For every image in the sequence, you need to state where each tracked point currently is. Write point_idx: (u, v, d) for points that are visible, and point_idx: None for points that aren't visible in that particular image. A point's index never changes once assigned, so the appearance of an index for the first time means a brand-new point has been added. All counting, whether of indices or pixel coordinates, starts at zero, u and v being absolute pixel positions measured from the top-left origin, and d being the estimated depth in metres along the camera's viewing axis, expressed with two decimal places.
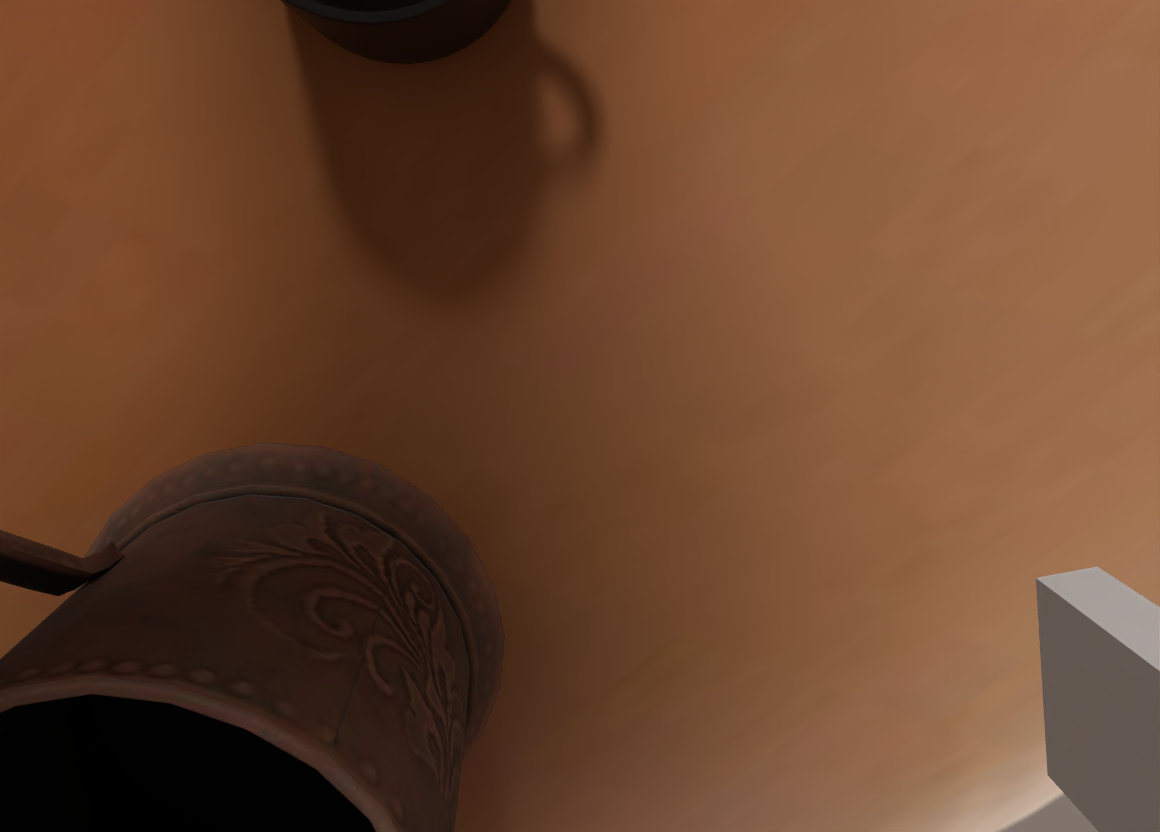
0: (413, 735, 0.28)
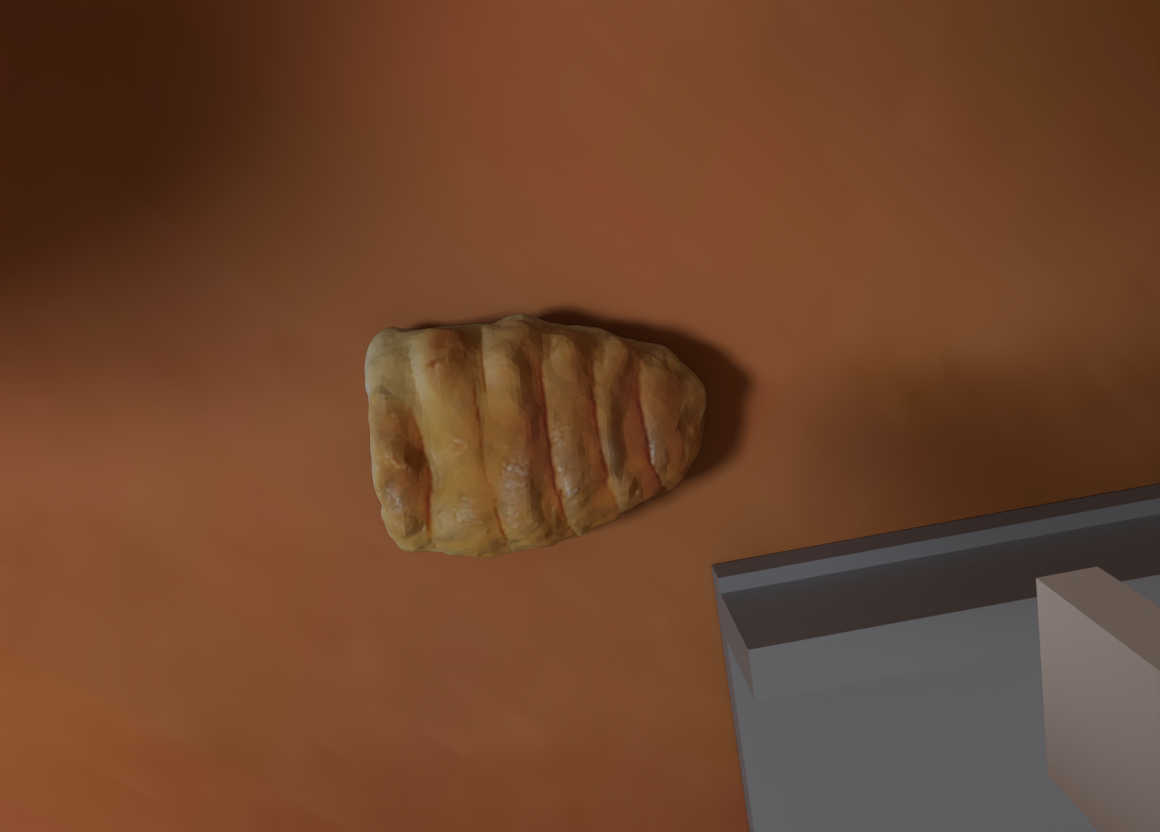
0: None
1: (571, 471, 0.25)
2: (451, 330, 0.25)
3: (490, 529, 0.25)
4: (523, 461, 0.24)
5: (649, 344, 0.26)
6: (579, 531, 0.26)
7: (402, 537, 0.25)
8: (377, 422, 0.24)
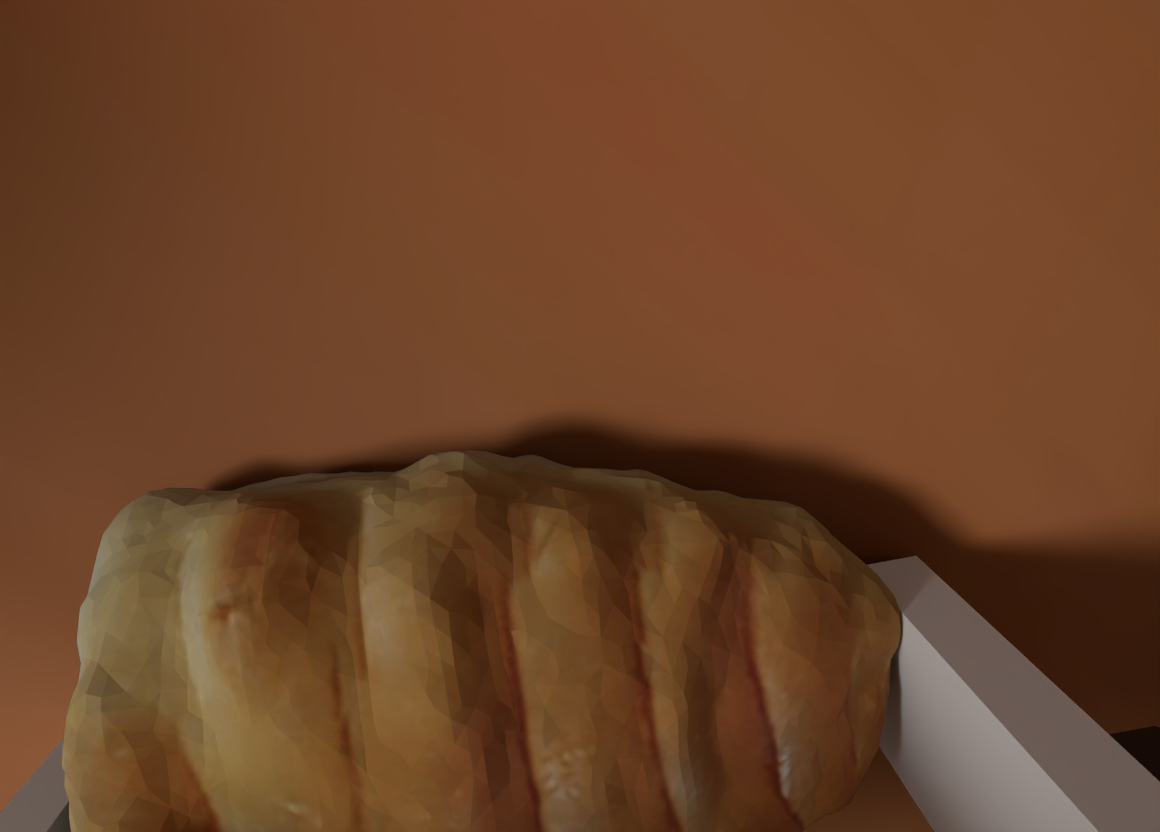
0: None
1: None
2: (281, 511, 0.10)
3: None
4: None
5: (764, 506, 0.11)
6: None
7: None
8: (82, 772, 0.09)
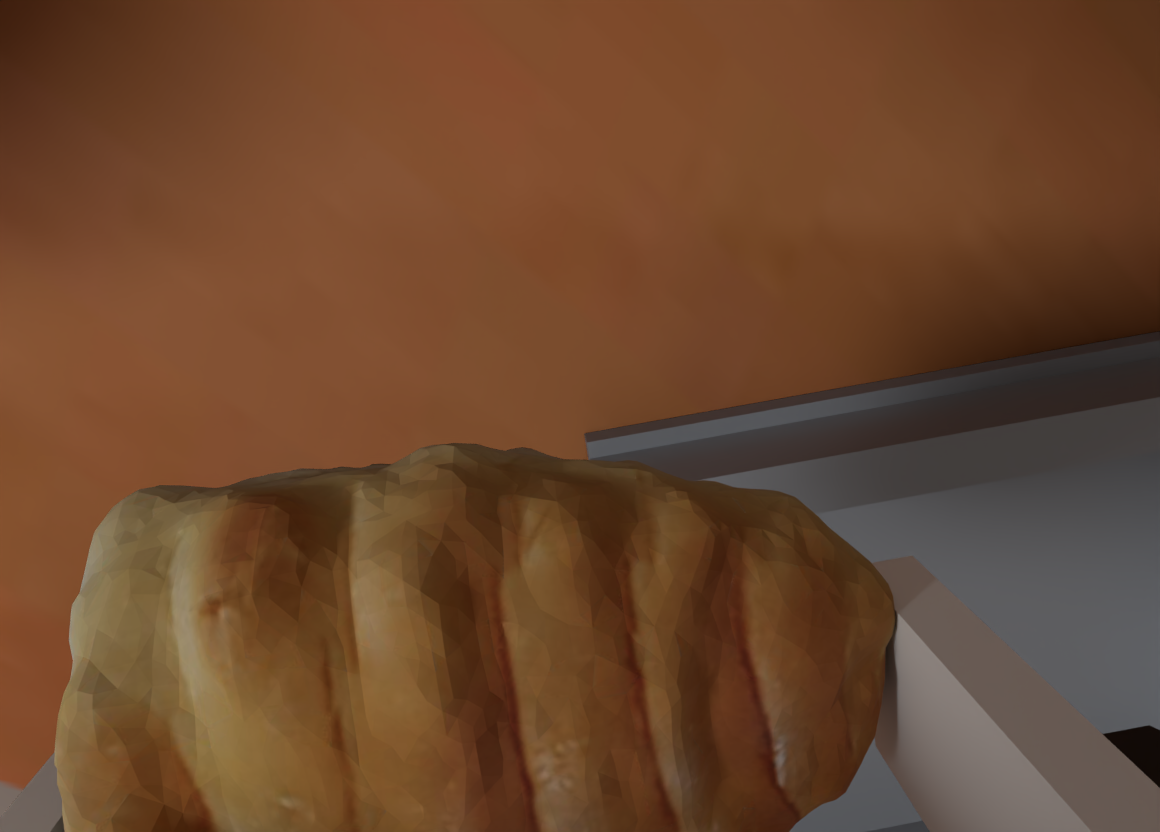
0: None
1: None
2: (271, 506, 0.10)
3: None
4: None
5: (756, 495, 0.11)
6: None
7: None
8: (75, 770, 0.09)
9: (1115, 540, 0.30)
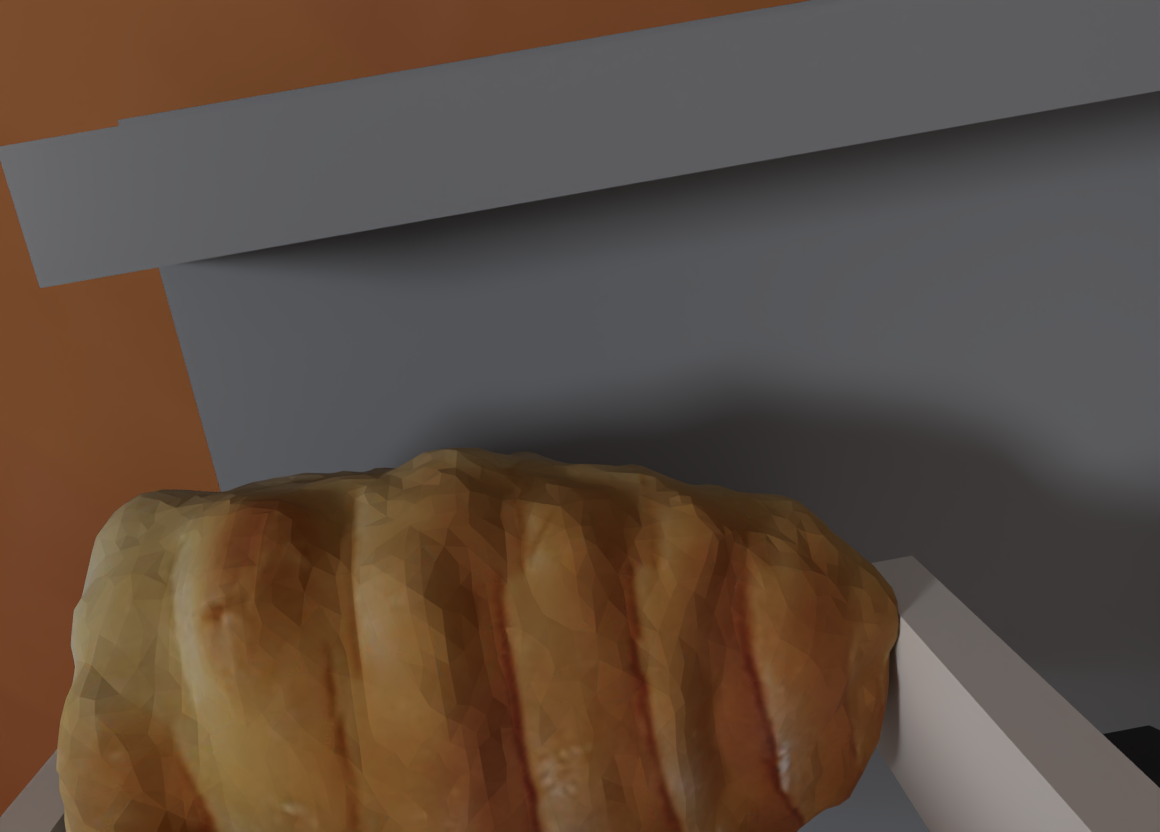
0: None
1: None
2: (273, 511, 0.10)
3: None
4: None
5: (760, 500, 0.11)
6: None
7: None
8: (77, 776, 0.09)
9: None
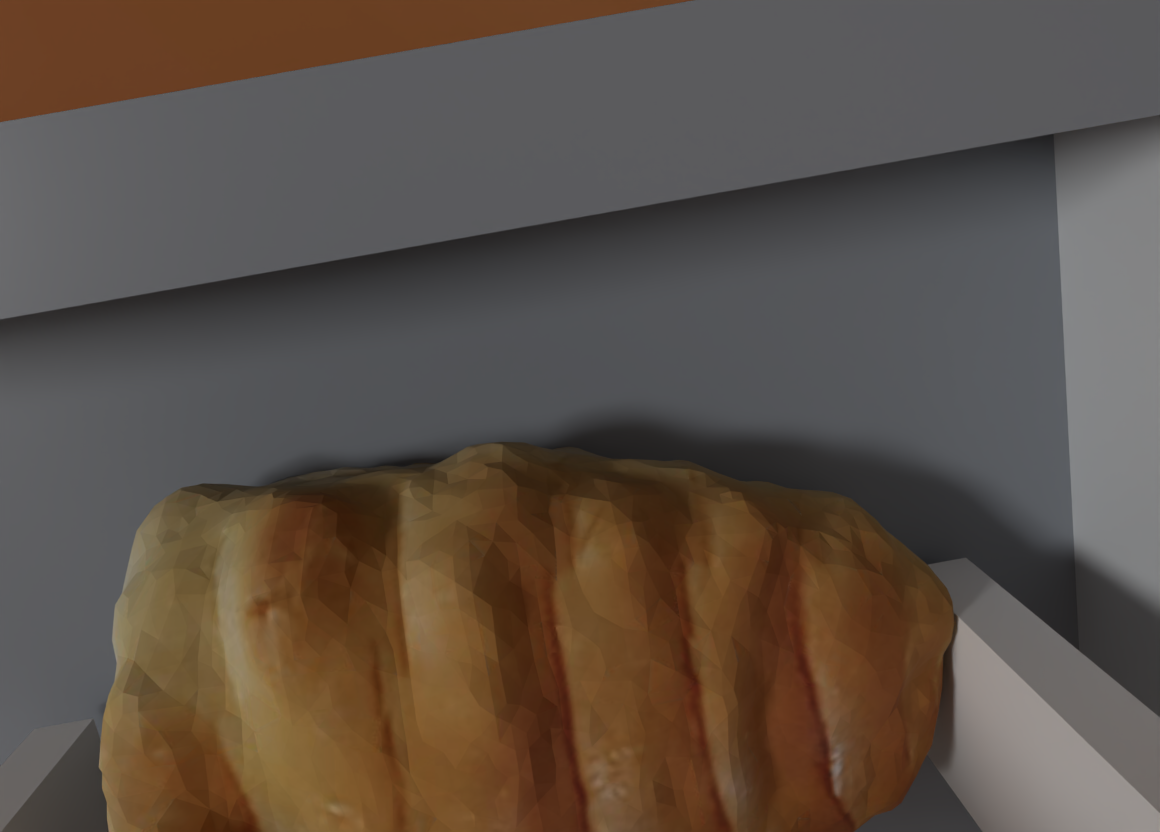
0: None
1: None
2: (318, 504, 0.10)
3: None
4: None
5: (811, 497, 0.11)
6: None
7: None
8: (120, 773, 0.09)
9: (865, 491, 0.12)
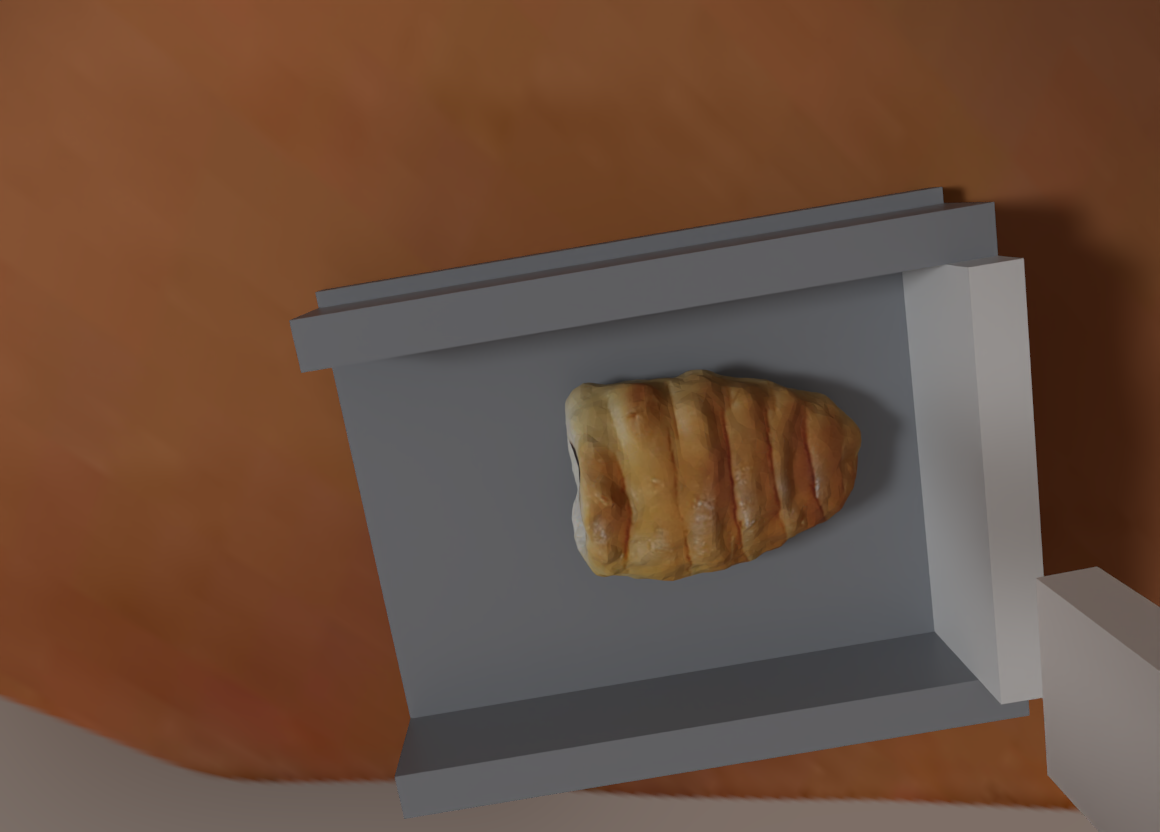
0: None
1: (751, 505, 0.28)
2: (644, 385, 0.29)
3: (678, 556, 0.29)
4: (711, 497, 0.28)
5: (810, 393, 0.30)
6: (751, 556, 0.30)
7: (603, 564, 0.29)
8: (587, 466, 0.28)
9: (831, 398, 0.31)
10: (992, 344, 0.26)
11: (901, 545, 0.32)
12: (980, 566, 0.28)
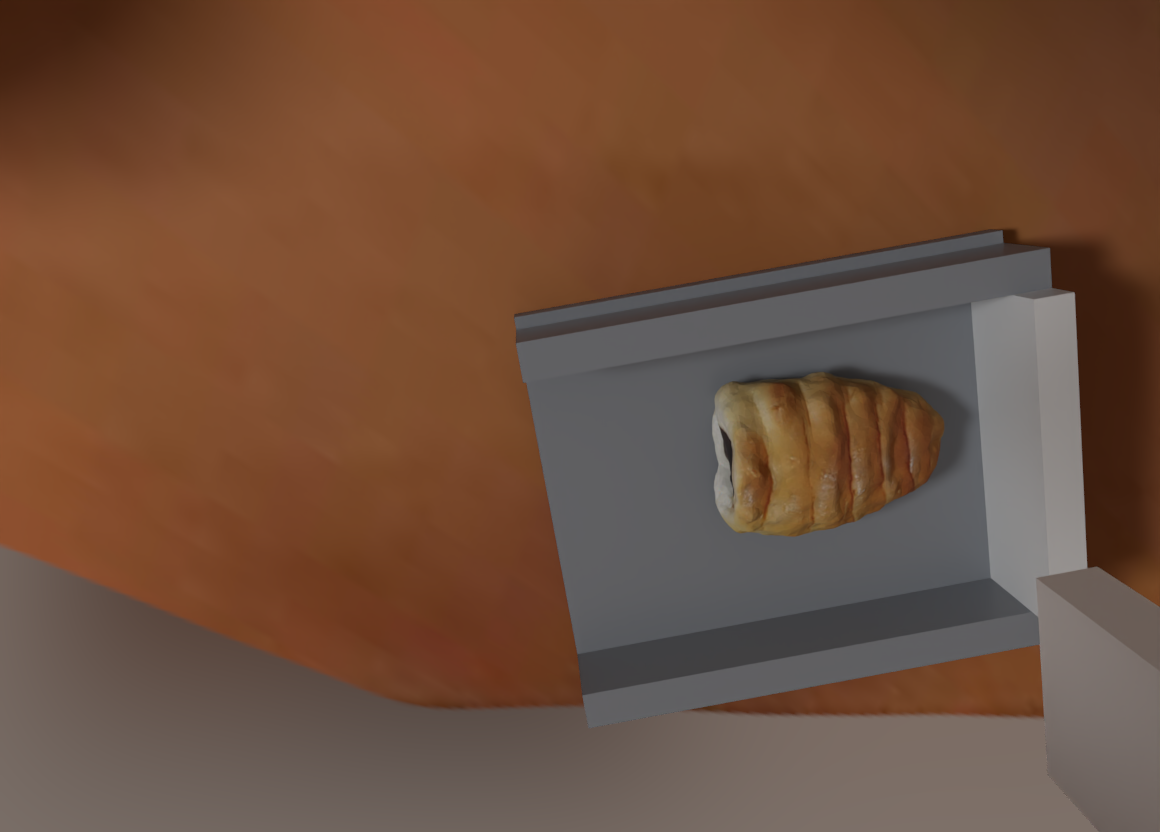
0: None
1: (863, 477, 0.37)
2: (783, 384, 0.37)
3: (804, 516, 0.37)
4: (834, 471, 0.37)
5: (906, 391, 0.38)
6: (857, 517, 0.39)
7: (746, 522, 0.37)
8: (741, 446, 0.36)
9: None
10: (1050, 356, 0.34)
11: (966, 510, 0.41)
12: (1036, 524, 0.37)
